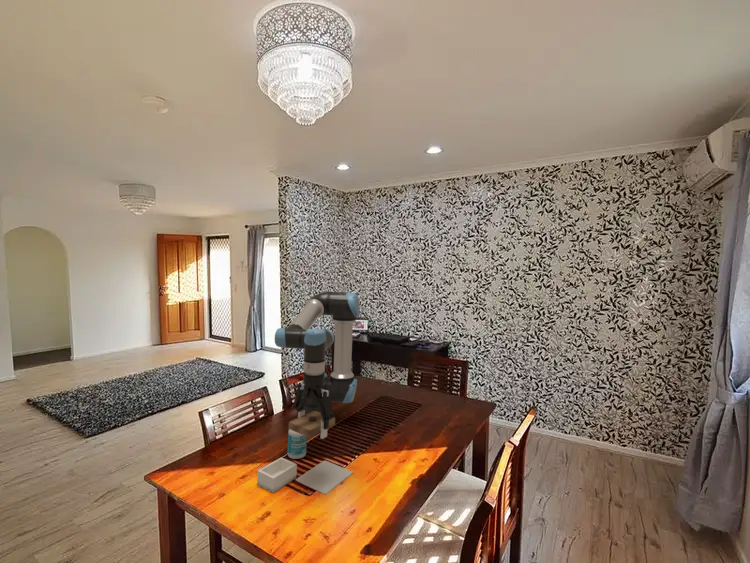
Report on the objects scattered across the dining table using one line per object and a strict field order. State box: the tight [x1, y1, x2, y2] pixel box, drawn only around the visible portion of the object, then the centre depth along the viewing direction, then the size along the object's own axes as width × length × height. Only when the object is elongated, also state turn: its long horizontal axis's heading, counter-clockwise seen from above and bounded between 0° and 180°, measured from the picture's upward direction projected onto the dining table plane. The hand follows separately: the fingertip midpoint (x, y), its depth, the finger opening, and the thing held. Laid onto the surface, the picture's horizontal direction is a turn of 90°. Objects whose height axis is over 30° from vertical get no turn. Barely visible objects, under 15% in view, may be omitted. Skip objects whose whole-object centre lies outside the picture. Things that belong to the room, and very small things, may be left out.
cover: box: [288, 411, 336, 438], centre depth 130 cm, size 10×13×3 cm
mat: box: [295, 460, 354, 495], centre depth 132 cm, size 14×16×1 cm
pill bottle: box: [287, 428, 308, 460], centre depth 146 cm, size 8×7×14 cm
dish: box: [256, 456, 298, 494], centre depth 128 cm, size 8×11×5 cm
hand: (312, 432), depth 130 cm, fingers closed on cover, 10 cm apart
